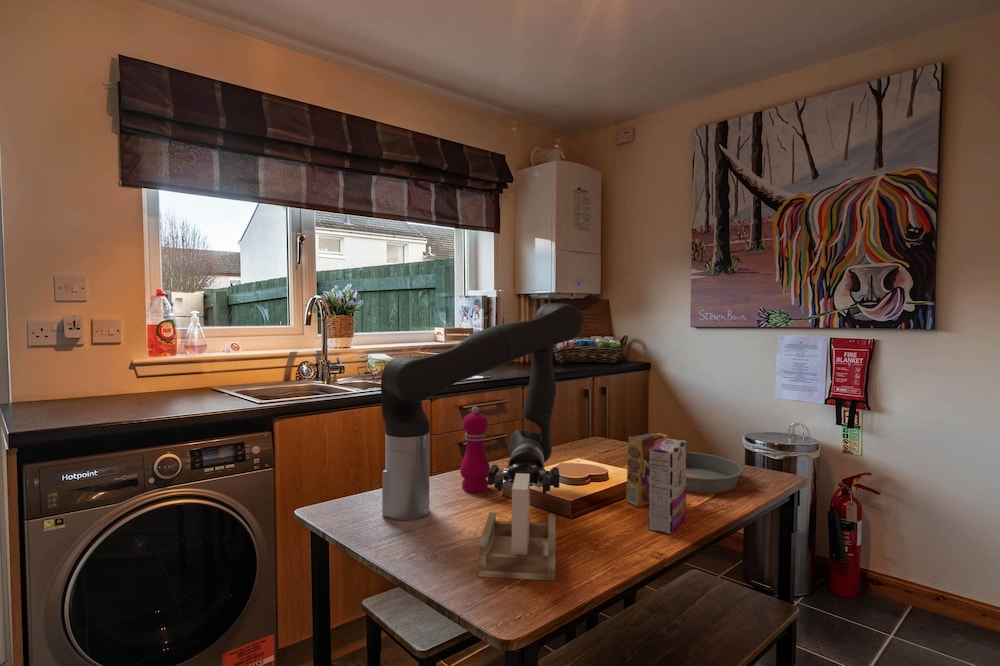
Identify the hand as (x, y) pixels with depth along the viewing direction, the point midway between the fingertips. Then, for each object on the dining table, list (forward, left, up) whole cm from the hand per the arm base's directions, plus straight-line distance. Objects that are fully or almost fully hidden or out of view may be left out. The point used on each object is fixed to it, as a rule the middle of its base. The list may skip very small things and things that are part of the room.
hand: (521, 487), depth 106 cm
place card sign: (0, -9, -9) cm, 13 cm away
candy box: (+27, +24, -10) cm, 38 cm away
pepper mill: (-13, +29, -10) cm, 33 cm away
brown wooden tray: (0, -8, -10) cm, 13 cm away
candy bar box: (+29, +11, -10) cm, 33 cm away
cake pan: (+42, +43, -10) cm, 60 cm away
